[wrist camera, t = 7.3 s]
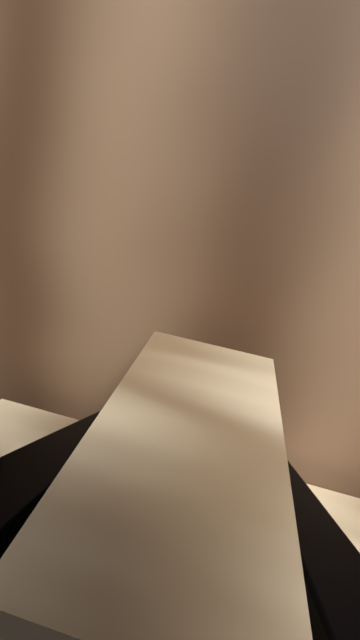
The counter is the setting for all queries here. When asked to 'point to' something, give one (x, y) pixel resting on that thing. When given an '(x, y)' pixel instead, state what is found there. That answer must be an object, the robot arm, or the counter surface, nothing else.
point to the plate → (184, 202)
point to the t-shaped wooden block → (166, 510)
